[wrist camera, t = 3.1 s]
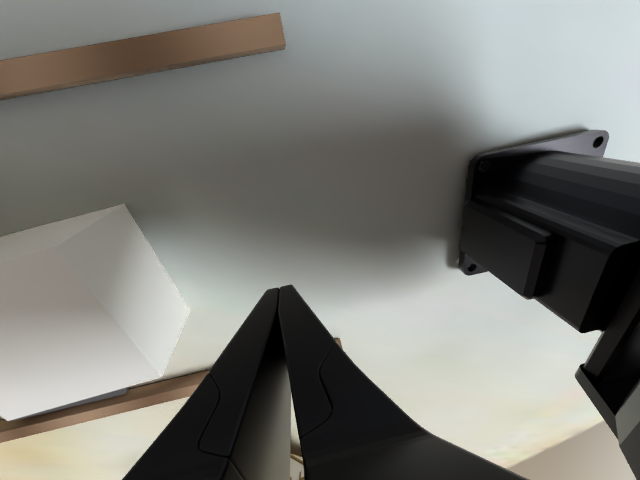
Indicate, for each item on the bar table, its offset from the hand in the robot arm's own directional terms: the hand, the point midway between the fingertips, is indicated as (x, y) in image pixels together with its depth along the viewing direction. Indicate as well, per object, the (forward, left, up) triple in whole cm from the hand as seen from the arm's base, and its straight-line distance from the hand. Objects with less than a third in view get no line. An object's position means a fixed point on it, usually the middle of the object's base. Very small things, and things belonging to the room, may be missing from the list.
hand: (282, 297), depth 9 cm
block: (+9, 0, -4) cm, 10 cm away
